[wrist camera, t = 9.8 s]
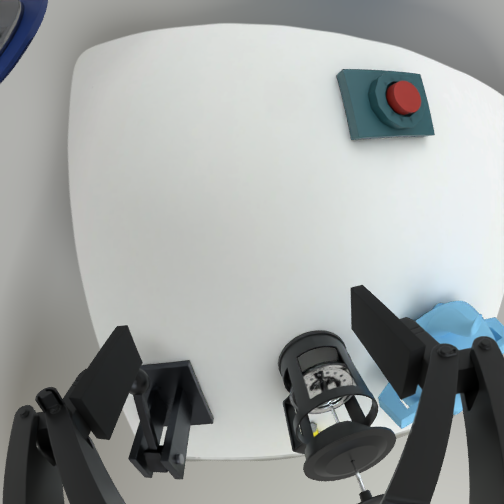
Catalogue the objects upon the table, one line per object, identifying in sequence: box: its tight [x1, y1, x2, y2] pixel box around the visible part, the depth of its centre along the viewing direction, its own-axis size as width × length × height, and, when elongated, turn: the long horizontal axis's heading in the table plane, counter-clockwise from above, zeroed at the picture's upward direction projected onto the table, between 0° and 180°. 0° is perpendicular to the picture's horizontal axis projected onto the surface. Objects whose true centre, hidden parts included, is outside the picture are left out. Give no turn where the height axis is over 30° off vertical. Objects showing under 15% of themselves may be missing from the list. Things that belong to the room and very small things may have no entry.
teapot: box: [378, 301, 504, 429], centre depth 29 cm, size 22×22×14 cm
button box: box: [337, 69, 435, 140], centre depth 25 cm, size 8×11×4 cm
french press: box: [278, 331, 396, 504], centre depth 24 cm, size 12×9×23 cm
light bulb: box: [311, 423, 319, 437], centre depth 38 cm, size 3×6×4 cm, turn 5°
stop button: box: [386, 81, 421, 115], centre depth 23 cm, size 4×4×2 cm
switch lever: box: [129, 369, 168, 472], centre depth 25 cm, size 13×3×3 cm, turn 11°
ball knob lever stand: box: [129, 360, 214, 479], centre depth 29 cm, size 12×9×14 cm
